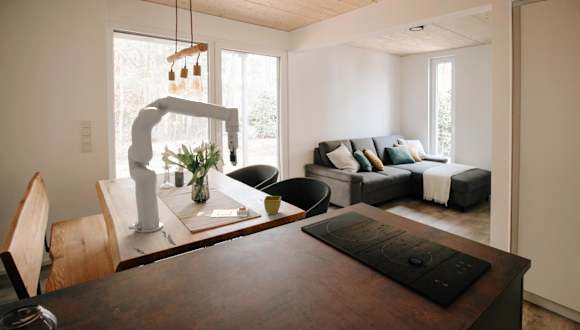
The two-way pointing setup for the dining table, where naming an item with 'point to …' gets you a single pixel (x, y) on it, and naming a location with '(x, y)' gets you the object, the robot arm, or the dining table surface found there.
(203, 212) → the coaster
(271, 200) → the flower pot
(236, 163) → the marker
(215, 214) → the board
